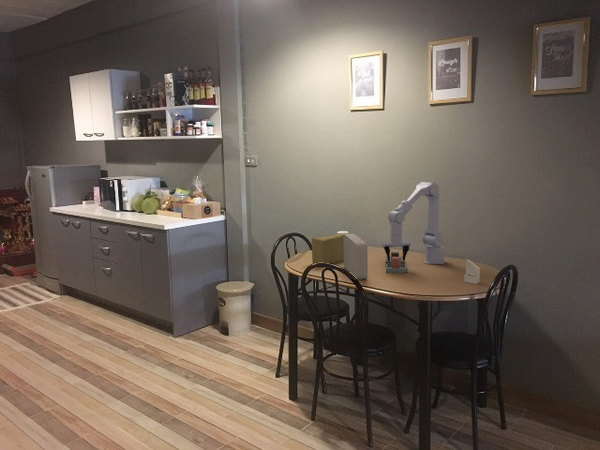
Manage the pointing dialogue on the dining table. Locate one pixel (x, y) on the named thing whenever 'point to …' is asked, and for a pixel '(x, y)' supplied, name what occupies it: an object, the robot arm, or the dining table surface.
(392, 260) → the block
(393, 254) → the switch
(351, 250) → the tall light grey box
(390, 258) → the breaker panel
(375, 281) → the dining table surface
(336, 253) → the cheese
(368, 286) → the dining table surface
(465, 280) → the white wedge bracket
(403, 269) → the tray
